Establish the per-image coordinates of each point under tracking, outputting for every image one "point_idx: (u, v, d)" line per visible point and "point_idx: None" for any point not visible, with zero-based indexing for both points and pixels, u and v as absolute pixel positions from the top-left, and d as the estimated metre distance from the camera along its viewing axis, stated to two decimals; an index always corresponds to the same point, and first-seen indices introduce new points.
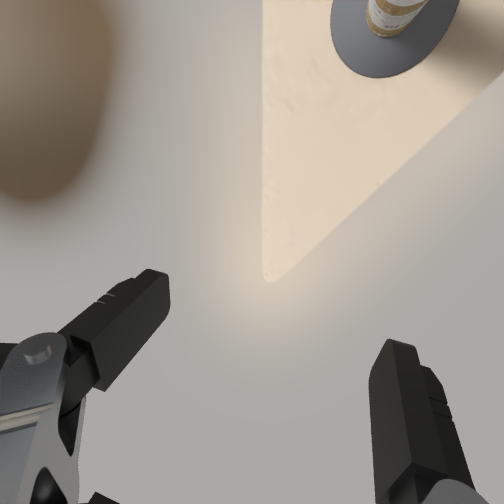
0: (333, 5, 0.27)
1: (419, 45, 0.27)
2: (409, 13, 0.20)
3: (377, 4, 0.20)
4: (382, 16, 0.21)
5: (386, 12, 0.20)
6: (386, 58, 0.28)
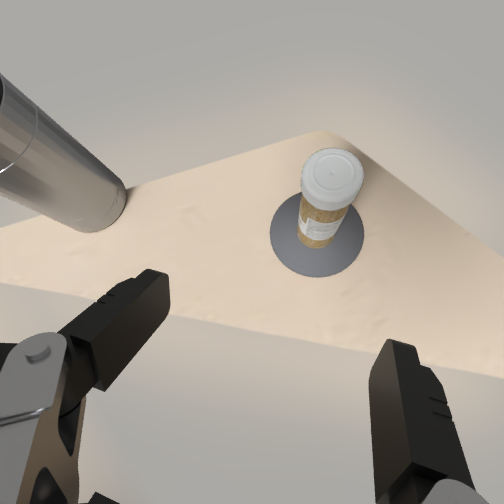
0: (304, 274, 0.32)
1: None
2: None
3: (338, 219, 0.25)
4: (342, 219, 0.26)
5: (345, 212, 0.25)
6: (349, 233, 0.33)
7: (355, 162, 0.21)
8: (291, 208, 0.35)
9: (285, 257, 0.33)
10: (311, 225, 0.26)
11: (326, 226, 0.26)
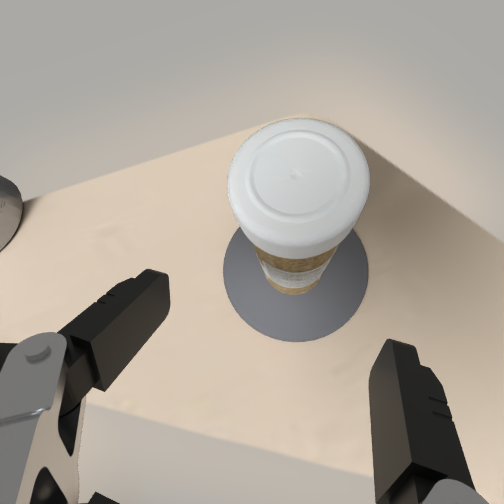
0: (274, 336, 0.20)
1: None
2: None
3: (320, 265, 0.13)
4: (328, 261, 0.14)
5: (333, 251, 0.13)
6: (345, 269, 0.21)
7: (348, 149, 0.09)
8: None
9: (245, 308, 0.21)
10: (272, 271, 0.14)
11: (298, 276, 0.14)
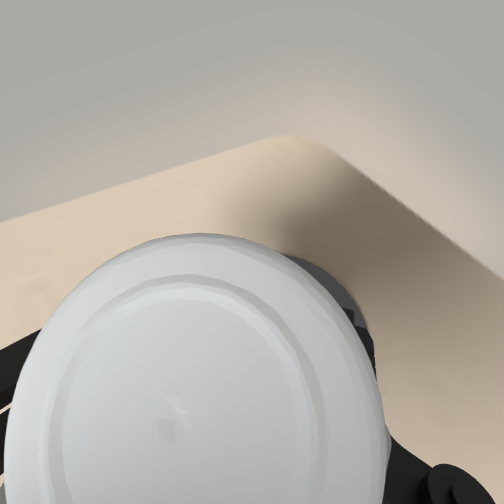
0: None
1: None
2: None
3: None
4: None
5: None
6: None
7: (324, 353, 0.03)
8: None
9: None
10: None
11: None
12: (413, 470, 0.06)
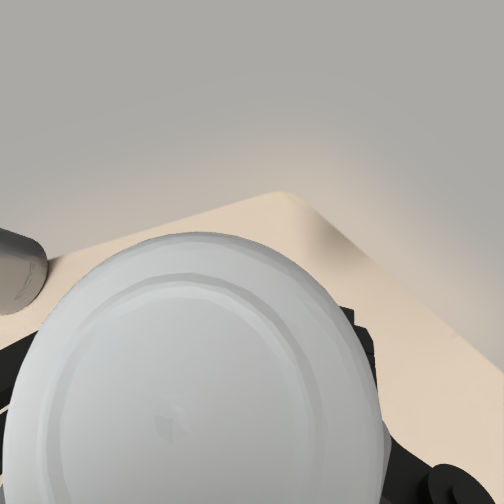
0: None
1: None
2: None
3: None
4: None
5: None
6: None
7: (322, 351, 0.03)
8: None
9: None
10: None
11: None
12: (413, 470, 0.06)
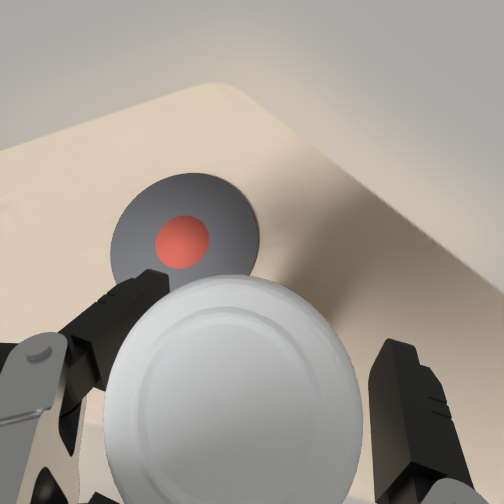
0: None
1: (230, 205, 0.20)
2: None
3: None
4: None
5: None
6: (235, 243, 0.19)
7: (322, 362, 0.04)
8: (149, 202, 0.21)
9: None
10: None
11: None
12: None
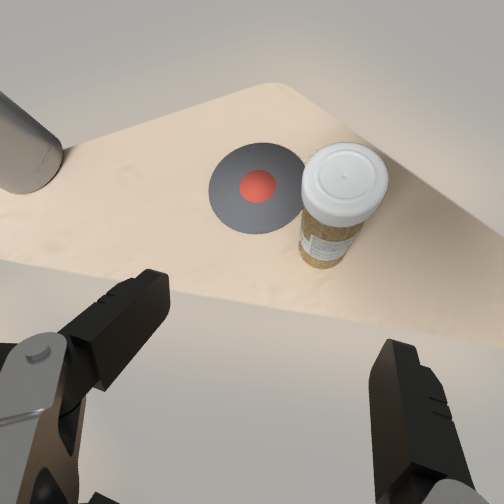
0: (242, 230, 0.29)
1: (288, 163, 0.31)
2: None
3: (351, 237, 0.19)
4: None
5: (361, 227, 0.19)
6: (293, 186, 0.30)
7: (376, 161, 0.15)
8: (233, 162, 0.32)
9: (223, 213, 0.30)
10: (316, 243, 0.20)
11: (335, 246, 0.20)
12: None
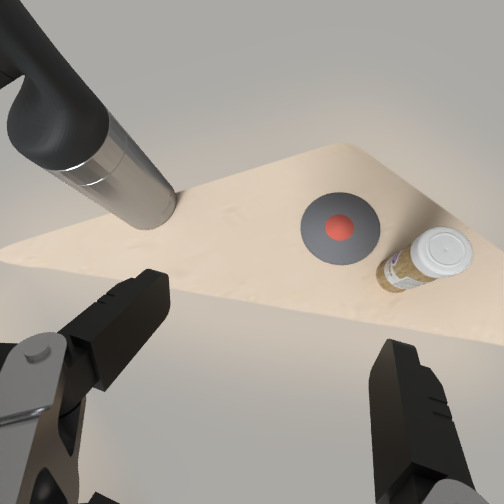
0: (330, 262, 0.39)
1: (362, 209, 0.40)
2: None
3: None
4: None
5: None
6: (368, 228, 0.39)
7: (464, 240, 0.24)
8: (318, 207, 0.41)
9: (314, 248, 0.40)
10: (407, 281, 0.30)
11: (421, 283, 0.29)
12: None
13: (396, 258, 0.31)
